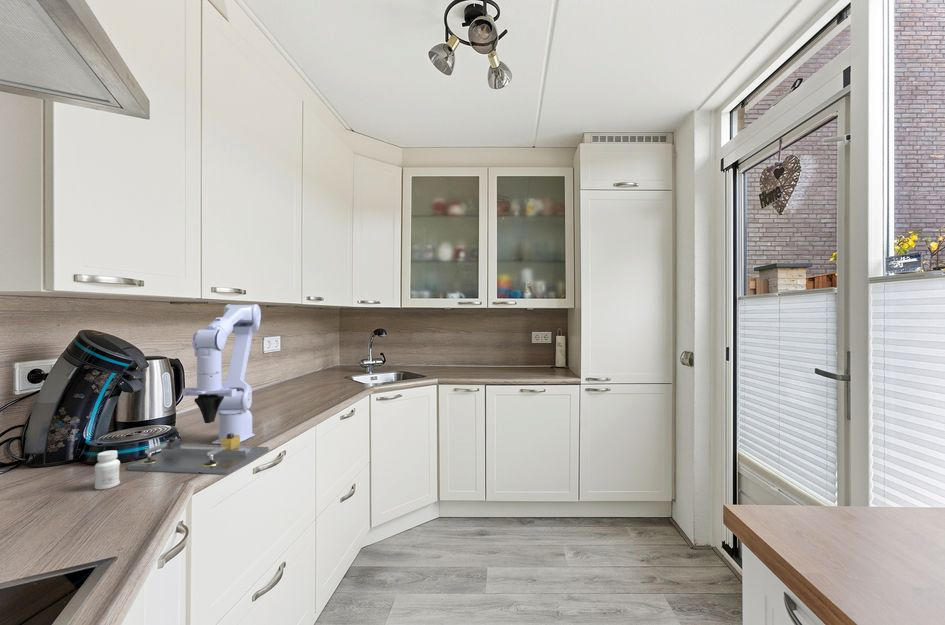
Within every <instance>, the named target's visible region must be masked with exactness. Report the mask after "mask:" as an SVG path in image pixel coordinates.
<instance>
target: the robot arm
mask: <svg viewBox="0 0 945 625" xmlns="http://www.w3.org/2000/svg"><path fill="white" fill-rule="evenodd" d="M261 311H262V310H261V307H260V306H259V304H256V303H255V304H230V303H229V304H226V305H225V306H224V308H223V313H222V314H223V315H222V316H221V317H219V316H218V317H215V319H214V320H213V321H211V323H209V324H208V325H207V326H206V327H205V328H204V329H198V330H197V331H195V332H193V337H192V339H191V340H192V341H191V344H192V348H193V351H194V356H195V358H196V387H186V388H182V391H181V392H182V393H181V394H182V396H183V397H187V396H194V397H195V396H196V397H197V398H194V403H195V404H196V406H197V407H198V408H199V411H200V412H201V415H202V418H203V421H204V424H211V423H213V422H215V420H216V416H217V415H218V439H216V440H214V441H212V442H211V445H221V439H222V438H224V437H226V436H227V434H230V433H234V435H240V443H242V442H244V441H246V440H248V439H250V438H252V437H254V436H255V435H256V434H255V433H253V415H252V412H251V411H250V410H249V409H251V406H252V401H253V396H252V395H253V394H252V392H253V389H252V388H253V387H251V385H250V384H248V383H247V382H246V381H245V378H246V371H247V367H248V361H249V355H250V350H251V344H252V341H253V340H252V339H253V336H254V334H255V333H256V332H258V331H259V328H260V325H261V317H262V313H261ZM232 333H233V334H234V335H235V338H234V341H233V342H234V343H233V348H232V353H231V356H230V357H231V358H230V361H229V365H228V366H229V367H228V370H227V371H228V372H227V377H226V380H225V381H223V382H222V378H223V376H222V375H223V374H222V371H223V370H222V368H223V367H222V364H223V363H222V361H223V360H222V350H224V348H225V345H226V342H227V340H228V338H229V335H231V334H232Z"/></svg>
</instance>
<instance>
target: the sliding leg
mask: <svg viewBox="0 0 945 625" xmlns="http://www.w3.org/2000/svg"><path fill="white" fill-rule="evenodd" d="M220 445H221V447H219V448H216V449H214V450H212V451H210V452H208V453H207V456H210V463H212V462H213V455H214V454H216V453H218V452H220V451H222V450H233V449H235V448H237V447H239V446H241V442H240V435H234V433H230V434H227V436H226V437H224V438H222V439H221V444H220Z"/></svg>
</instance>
